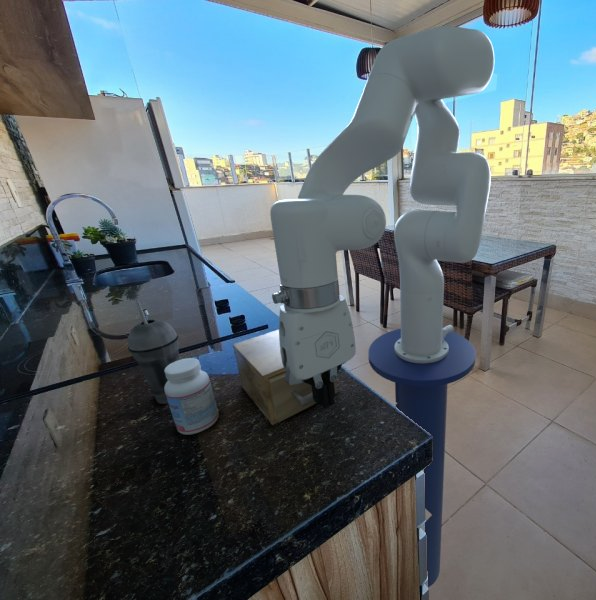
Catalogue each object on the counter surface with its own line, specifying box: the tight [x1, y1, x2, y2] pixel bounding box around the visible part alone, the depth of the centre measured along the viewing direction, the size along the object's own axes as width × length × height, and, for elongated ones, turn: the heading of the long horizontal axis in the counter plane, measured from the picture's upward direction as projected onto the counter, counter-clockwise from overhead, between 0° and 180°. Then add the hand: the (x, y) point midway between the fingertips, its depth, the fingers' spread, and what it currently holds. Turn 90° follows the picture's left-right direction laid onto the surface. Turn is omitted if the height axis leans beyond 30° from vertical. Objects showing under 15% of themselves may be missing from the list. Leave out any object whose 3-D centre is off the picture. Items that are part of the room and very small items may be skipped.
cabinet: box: [232, 329, 286, 426], centre depth 60 cm, size 15×13×10 cm
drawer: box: [268, 372, 338, 424], centre depth 57 cm, size 18×11×8 cm, turn 43°
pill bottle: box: [164, 357, 220, 436], centre depth 52 cm, size 6×6×11 cm
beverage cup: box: [127, 298, 181, 405], centre depth 57 cm, size 7×7×20 cm
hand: (324, 402), depth 50 cm, fingers closed
